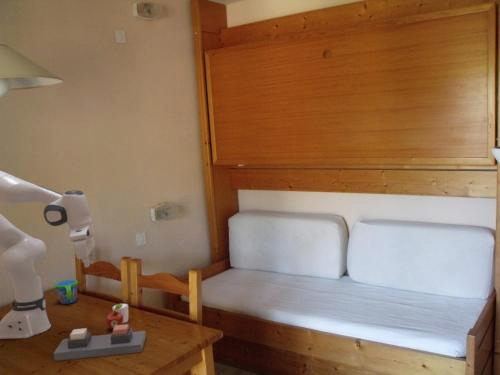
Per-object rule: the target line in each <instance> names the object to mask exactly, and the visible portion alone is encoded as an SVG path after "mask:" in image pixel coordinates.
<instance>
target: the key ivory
mask: <svg viewBox="0 0 500 375" xmlns="http://www.w3.org/2000/svg"><path fill="white" fill-rule="evenodd" d="M87 332H88V328H87V327H85V328H74V329H73V330H72V331H71V333H70V334H69V338H71V340H76V339H85V338H86V336H87Z"/></svg>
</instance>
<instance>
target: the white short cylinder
mask: <svg viewBox="0 0 500 375" xmlns="http://www.w3.org/2000/svg"><path fill="white" fill-rule="evenodd" d="M121 304H122V305H123V306H122V307H121V308H119V309H117V310H115V306H116V305H117V304H115V305H113V306H112V308H111V309H112V313H113V312H114V310H115V312H120V313H121V314H122V315H123V322H122V324H125V323H127V322H128V321H129V304H128V303H121Z"/></svg>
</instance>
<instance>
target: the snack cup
mask: <svg viewBox="0 0 500 375" xmlns="http://www.w3.org/2000/svg"><path fill="white" fill-rule="evenodd" d="M78 284H79V282H78V280H77V279H66V280H60V281H58V282H56V283H55V284H54V285H55V289H56V291H57V295H58V298H59V302H60V304H62V305H70V304H72V303H75V302H77V296H78V295H77V294H78Z"/></svg>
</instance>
